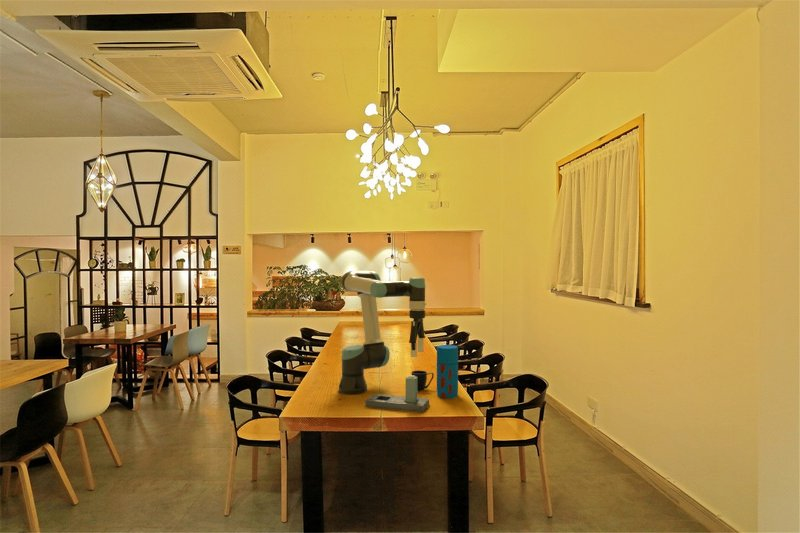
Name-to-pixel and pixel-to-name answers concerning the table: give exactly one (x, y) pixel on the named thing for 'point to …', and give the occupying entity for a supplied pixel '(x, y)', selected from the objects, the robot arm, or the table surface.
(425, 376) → the mug
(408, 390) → the plug
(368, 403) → the panel
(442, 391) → the thermos
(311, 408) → the table surface
